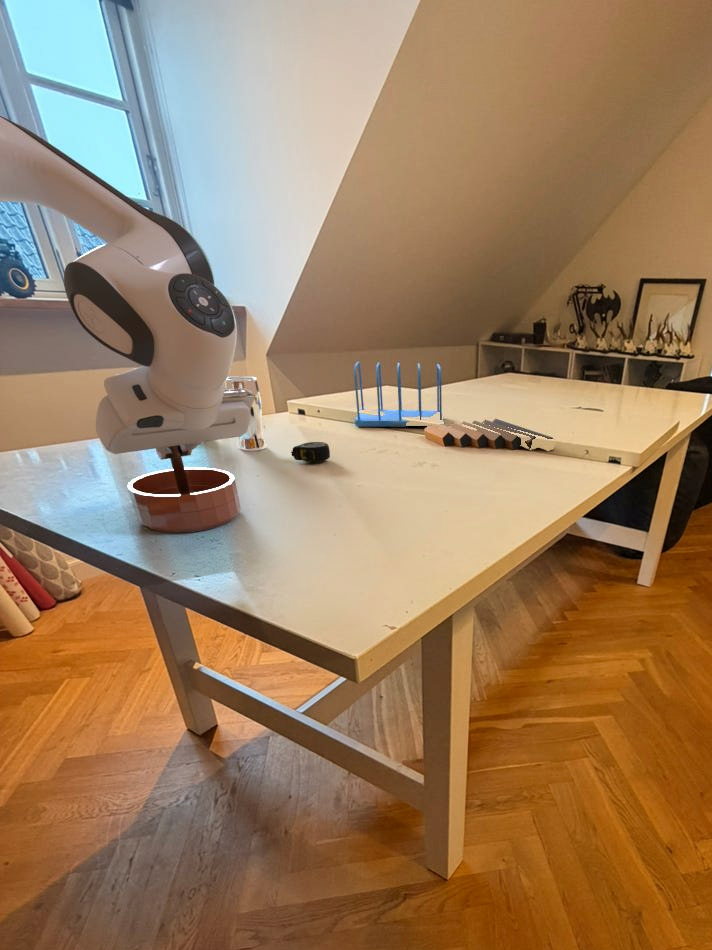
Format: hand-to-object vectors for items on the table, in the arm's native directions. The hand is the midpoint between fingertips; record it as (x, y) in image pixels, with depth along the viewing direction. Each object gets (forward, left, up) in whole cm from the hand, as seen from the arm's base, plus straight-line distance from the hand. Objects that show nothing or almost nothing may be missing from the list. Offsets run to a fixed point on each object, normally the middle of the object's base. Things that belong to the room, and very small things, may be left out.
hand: (173, 453), depth 84 cm
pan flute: (+73, +30, -10) cm, 79 cm away
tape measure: (+26, +28, -10) cm, 39 cm away
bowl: (0, 0, -10) cm, 10 cm away
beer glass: (+16, +44, -10) cm, 48 cm away
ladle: (0, -1, -9) cm, 9 cm away
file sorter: (+60, +62, -10) cm, 87 cm away
